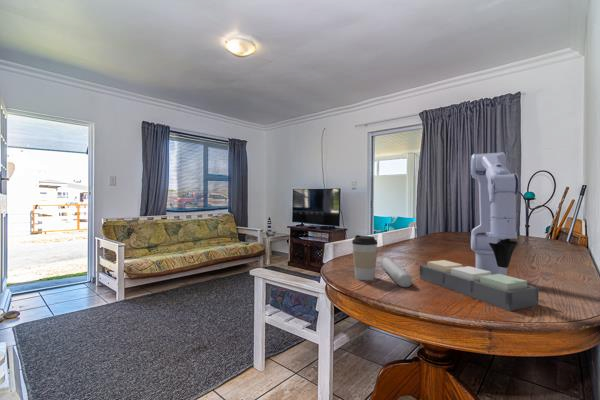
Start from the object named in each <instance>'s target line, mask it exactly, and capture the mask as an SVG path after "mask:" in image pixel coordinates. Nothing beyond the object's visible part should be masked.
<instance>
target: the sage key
mask: <svg viewBox="0 0 600 400" xmlns="http://www.w3.org/2000/svg"><path fill="white" fill-rule="evenodd" d="M480 283H483V284H486V285H489V286H493V287H496V288H499V289H503V290H506V291H512V290H518V289H524V288H527V285H528V280H525V279H520V278H517V277H514V276H511V275H507V276H506V275H502V274H494V275H487V276H480Z"/></svg>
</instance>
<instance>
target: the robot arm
mask: <svg viewBox="0 0 600 400" xmlns="http://www.w3.org/2000/svg"><path fill="white" fill-rule="evenodd" d="M470 173H471V178H472V179H474V180H476V181H477V184H478V198H479V200H478V202H479V203H478V204H479V225H477V226H475V227H474V228H472V230H471V232H470V233H471V234H470V248H471V250H472V251H473V252H474V253H475V268H478V269H482V270H486V271H490V272H491V275H494V274H502V275H506V276H508V275H507V273H508V272H507V271H508V270H507V268H509V266H510V262H511V259H512V255H513V253H514V251H515V249H516V247H517V246H518V241H513V239H514V240H517V239H518V232H517V225H516V224H517V209H516V208H517V202H516V201H517V195H518V194H519V189H520V179H519V176H518V173H511V172H510V170H509V169H508V167H507V155H506V153H505V152H504V151H500V152H490V153H473V154H472V155H471V157H470Z"/></svg>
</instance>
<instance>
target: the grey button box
mask: <svg viewBox="0 0 600 400" xmlns="http://www.w3.org/2000/svg"><path fill="white" fill-rule="evenodd" d="M419 279H420V280H422V279H423V280H422V281H426V282H428V283H431V284H434V285H436V286H439V287H442V288H444V289H448V290H451V291H453V292H456V293H459V294H461V295H464V296H466V297H470V298H473V299H475V300H478V301H481V302H484V303H487V304H489V305H491V306H495V307H498V308H501V309H502V310H506V311H508V312H511V311H516V309H517V310H522V309H526V307H527V308H531V307H530V306H532V307H536V306H535V305H537V306H539V287H536V286H532V285H528V284H527V288H524V289H518V290H512V291H506V290H503V289H499V288H496V287H493V286H489V285H486V284H483V283H480V280H474V281H473V280H469V279H466V278H463V277H459V276H456V275H453V274H451V272H443V271H439V270H436V269H433V268H429V267H427V264H424V265H419ZM521 308H522V309H521Z"/></svg>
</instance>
